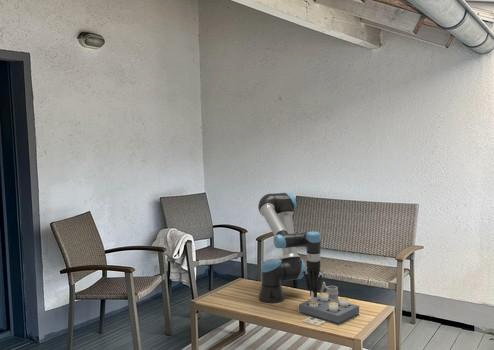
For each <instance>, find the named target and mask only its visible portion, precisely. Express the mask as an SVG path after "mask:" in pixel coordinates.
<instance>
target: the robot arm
mask: <svg viewBox="0 0 494 350" xmlns="http://www.w3.org/2000/svg"><path fill="white" fill-rule="evenodd" d="M257 208H258V212H259V214H260V215H261V216H262V217H264V220H265V221H266V223H267V225H268V227H269V228H270V230H271V232H272V234H273V236H274V237H273V244H274V247H275V248H277V249H282V257H281V258H280V259H281V260H280V259H279V258H272V259H267V260H264V261H263V262H262V263H261V269H260V270H261V287H260V291H259V295H258V300H259V301H261V302H263V303H267V304H268V303H269V304H273V303H274V304H275V303H281V302H283V301H285V295H284V294H285V293H284V292H283V288H282V282H286V281H296V280H301V279H303V277H304V279H305V285H306V289H307V290H309V296H310V299H311V303H316V297H318V292H319V291H321V288H322V284H323V279H324V277H325V274H324V273H322V271H321V269H320V268H321V233H320V232H318V231H308V232H306V231H299V232H296V233H295V229H294V222H293V221H294V220H293V215H294V213H295V212H294V211H296V208H297V201H296V198H295V196H294V195H293V194H292V193H291V192H280V193H279V192H278V193H266V194H265V195H263V196H262V197H261V198H260V199H259V201H258V206H257ZM300 247H305V248H306V262H305V260H303V259H302V258H301V256H300V255H299V254H298V249H297V248H300Z"/></svg>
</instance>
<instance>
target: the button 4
mask: <svg viewBox="0 0 494 350" xmlns="http://www.w3.org/2000/svg"><path fill="white" fill-rule="evenodd" d="M338 300H339V307H343V308H347V307H348V303H349V298H348V297H339V298H338Z"/></svg>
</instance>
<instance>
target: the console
mask: <svg viewBox="0 0 494 350" xmlns="http://www.w3.org/2000/svg"><path fill="white" fill-rule="evenodd" d="M310 302H311V298H310V299H308V300H306V301H304V302H301V303H299V304H298V314H301V315H304V316H307V317H312V318H316V319H319V320H322V321H326V323H330V324H332V325H337V326H340V325H341V324H342V325H343V324H344V323H346V322H348V321H350V320H353V318H355V317H357V316H358V317H359V316H360V305H357V304H353V303H350V302H348V307H347V308H343V307H339V299H338V300H335V299H331V298H328V302H326V303H325V302H321V301H320V295H317V297H316V302H317V303H318V306H317V307H312V306H309V303H310ZM330 302H336V303H338V312H336V313H333V312H329V303H330Z"/></svg>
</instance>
